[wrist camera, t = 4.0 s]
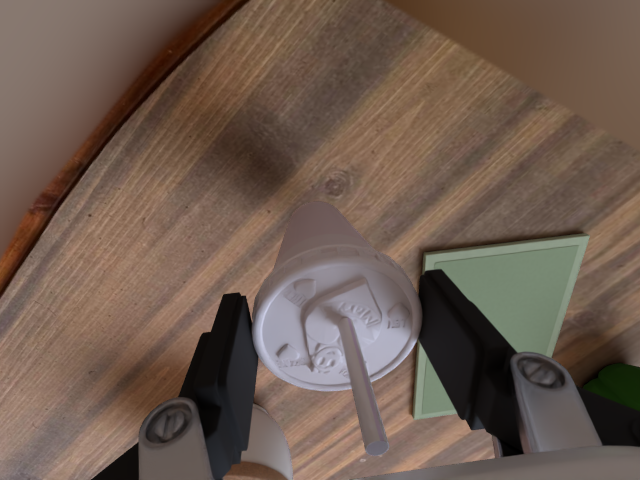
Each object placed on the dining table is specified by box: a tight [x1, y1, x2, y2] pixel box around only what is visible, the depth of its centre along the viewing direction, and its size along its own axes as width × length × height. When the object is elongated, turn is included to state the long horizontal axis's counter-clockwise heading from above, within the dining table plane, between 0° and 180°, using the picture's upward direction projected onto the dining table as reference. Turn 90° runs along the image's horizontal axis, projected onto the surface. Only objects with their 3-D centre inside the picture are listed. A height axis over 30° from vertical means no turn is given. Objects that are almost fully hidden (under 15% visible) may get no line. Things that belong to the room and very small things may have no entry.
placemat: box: [412, 233, 590, 420], centre depth 29 cm, size 20×14×1 cm
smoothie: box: [252, 201, 422, 456], centre depth 13 cm, size 6×6×14 cm
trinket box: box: [224, 404, 293, 480], centre depth 27 cm, size 11×11×9 cm
